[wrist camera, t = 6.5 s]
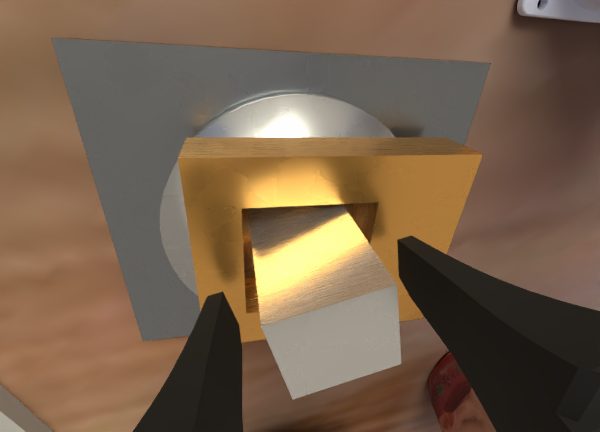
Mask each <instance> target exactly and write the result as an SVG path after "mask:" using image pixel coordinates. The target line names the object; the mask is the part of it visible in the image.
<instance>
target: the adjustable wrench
mask: <svg viewBox="0 0 600 432" xmlns="http://www.w3.org/2000/svg"><path fill="white" fill-rule="evenodd" d="M0 432H53V431H52V430H51V429H50V428H49V427H48V426H47V425H45V424H44V423H43V422H42V421H41V420H40V419H39V418H38V417H36V416H35V415H34V414H33V413H32V412H31V411H30V410H29V409H28V408H26V407H25V406H24V405H23V404H22V403H21V402H20V401H19V400H17V399H16V398H15V397H14V396H13V395H12V394H11V393H10V392H9V391H7V390H6V389H5V388H4V387H3V386H2V385H1V384H0Z"/></svg>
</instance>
